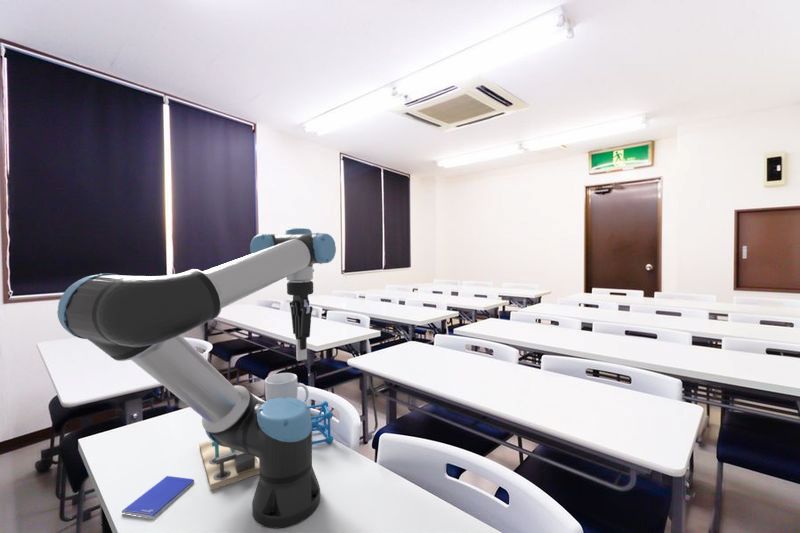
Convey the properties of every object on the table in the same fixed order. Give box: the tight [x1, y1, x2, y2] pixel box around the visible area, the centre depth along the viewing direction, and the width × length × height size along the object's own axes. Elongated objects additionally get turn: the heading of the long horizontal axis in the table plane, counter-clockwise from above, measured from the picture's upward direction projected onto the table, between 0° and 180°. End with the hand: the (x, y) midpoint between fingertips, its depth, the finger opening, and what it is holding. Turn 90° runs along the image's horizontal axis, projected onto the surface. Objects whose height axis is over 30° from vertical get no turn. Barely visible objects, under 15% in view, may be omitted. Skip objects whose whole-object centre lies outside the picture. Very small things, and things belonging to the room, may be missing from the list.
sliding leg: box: [212, 441, 234, 460], centre depth 100 cm, size 3×9×6 cm, turn 125°
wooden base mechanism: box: [198, 439, 260, 491], centre depth 101 cm, size 23×12×6 cm, turn 35°
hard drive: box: [121, 475, 195, 520], centre depth 86 cm, size 2×8×12 cm
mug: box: [264, 372, 310, 404], centre depth 129 cm, size 15×11×13 cm
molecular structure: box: [307, 400, 334, 445], centre depth 111 cm, size 10×10×10 cm
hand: (301, 359), depth 107 cm, fingers closed
